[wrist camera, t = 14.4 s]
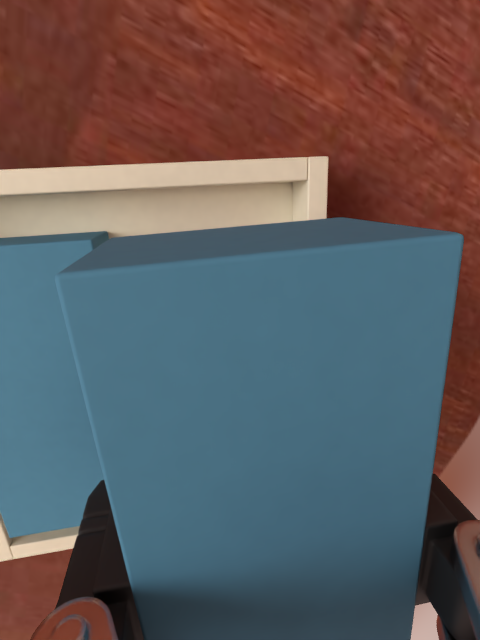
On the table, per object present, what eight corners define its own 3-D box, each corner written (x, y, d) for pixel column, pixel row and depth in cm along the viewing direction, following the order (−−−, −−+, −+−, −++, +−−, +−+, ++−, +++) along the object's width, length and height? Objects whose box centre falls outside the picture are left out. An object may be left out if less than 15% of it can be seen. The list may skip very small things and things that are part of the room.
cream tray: (305, 161, 16) (329, 156, 13) (302, 469, 21) (318, 504, 19) (-96, 178, 14) (-154, 175, 11) (18, 516, 19) (-5, 563, 17)
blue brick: (108, 230, 15) (92, 239, 12) (147, 468, 19) (143, 515, 16) (-40, 240, 14) (-94, 251, 11) (34, 485, 18) (8, 539, 15)
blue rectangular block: (343, 216, 9) (467, 232, 5) (335, 569, 13) (401, 723, 9) (108, 237, 8) (50, 273, 4) (177, 604, 12) (179, 787, 8)
